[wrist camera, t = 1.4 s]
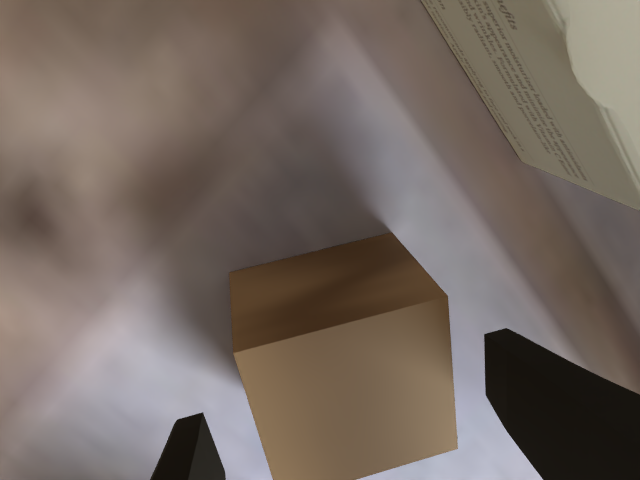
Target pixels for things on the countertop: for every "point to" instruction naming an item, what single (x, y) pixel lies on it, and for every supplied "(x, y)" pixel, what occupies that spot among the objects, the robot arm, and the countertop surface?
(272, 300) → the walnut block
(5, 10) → the countertop surface
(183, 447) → the robot arm
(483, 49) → the small box
